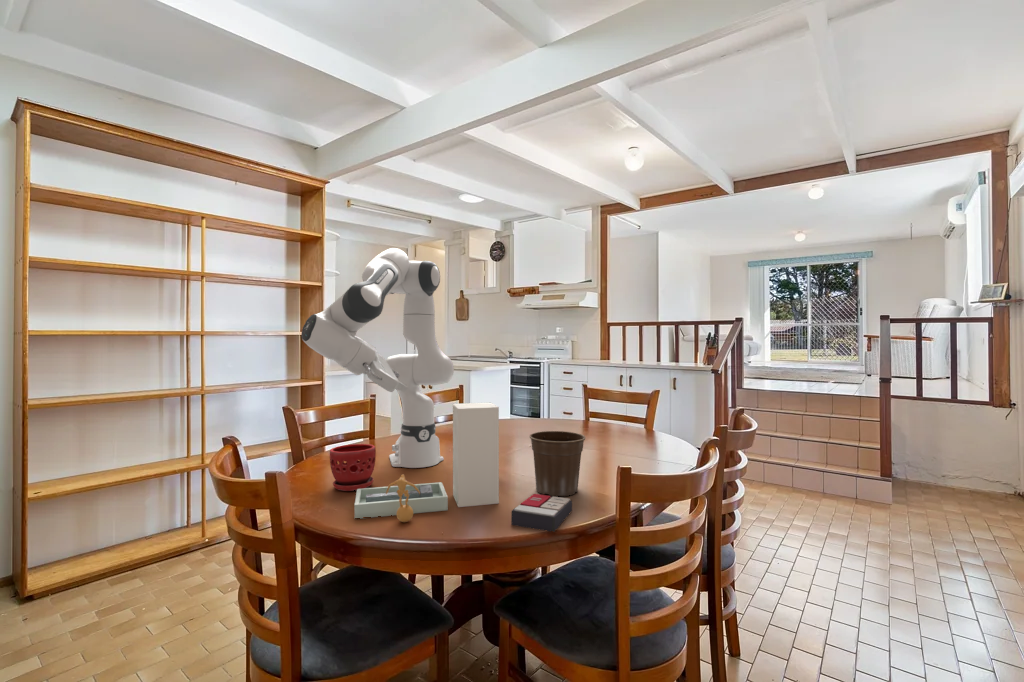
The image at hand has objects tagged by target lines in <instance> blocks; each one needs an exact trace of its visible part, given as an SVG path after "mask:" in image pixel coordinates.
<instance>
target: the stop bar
mask: <svg viewBox="0 0 1024 682" xmlns="http://www.w3.org/2000/svg"><path fill="white" fill-rule="evenodd" d="M419 492H420V494H419ZM419 492H418V491H417V490H415V491H408V494H409V498H408V499H413V498H425V497H433V491H432V488H431V485H419ZM406 498H407V497H406V496H405V495H404V494H403V495H402V498H401V499H406ZM399 499H400V497H399V496H398V494H397V492H391V493H387V494H386V493H379V494H367V495H366V503H367V502H378V501H390V500H399Z"/></svg>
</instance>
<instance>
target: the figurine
mask: <svg viewBox="0 0 1024 682" xmlns="http://www.w3.org/2000/svg"><path fill="white" fill-rule="evenodd" d="M406 485H410V486H413V487H414V488H415V489H416V490H417V491H418V492H419V490H418V489H417V488H416V486H415V485H414V484H413V483H412V482H410V481H408V480H407V479H406V477H405V474H401V475H400V476H399V478H398V479H397V480H394V481H393V482H391V483H389V484H388V486H387V487H388V488H387V491H386V494H387V493H388V490H389V488H390V486H398V488H399V490H397V494H398V496H399V497H400V499H399V502H400V507H399V508H398V510H397V515H396V518H397V520H398V521H400V522H401V523H407V522H410V521H411V520H412V518H413V516H414V513H413V509H412V508H411V507H410V506H409V505H408V504H407V502H408V498H409V494H408V490H406V491H405V488H406ZM403 494H404V495H405V496H406V497H407V498H406V500H405V504H406V505H402V503H401V501H402V499H401V498H402V495H403ZM419 494H420V492H419Z"/></svg>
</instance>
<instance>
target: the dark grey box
mask: <svg viewBox="0 0 1024 682" xmlns="http://www.w3.org/2000/svg"><path fill="white" fill-rule="evenodd" d="M571 511H572V512H573V500H571V498H568V497H558V496H550V495H548V494H545V495H544V494H541V493H539V494H538V493H532V495H530V496H529V497H528V498H526V499H525V500H523V501H522V502H520V504H519V505H517V506H516V507H514V508H513V509H512V510H511V519H510V520H511V521H510V522H511V525H512V526H515V527H522V528H527V529H533V528H534V530H539V529H540V530H541V531H545V530H547V531H546V532H551V531H553V533H554V532H556V531H555V530H556V529H558V528H559V527H560V526H561V524H562V523H563V522H564V521H565V520H566V519H567V518H568V517H569V515H570V514H571V513H572V512H571ZM570 512H571V513H570ZM569 513H570V514H569ZM566 517H567V518H566ZM565 518H566V519H565ZM564 519H565V520H564ZM540 530H539V531H540Z"/></svg>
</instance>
